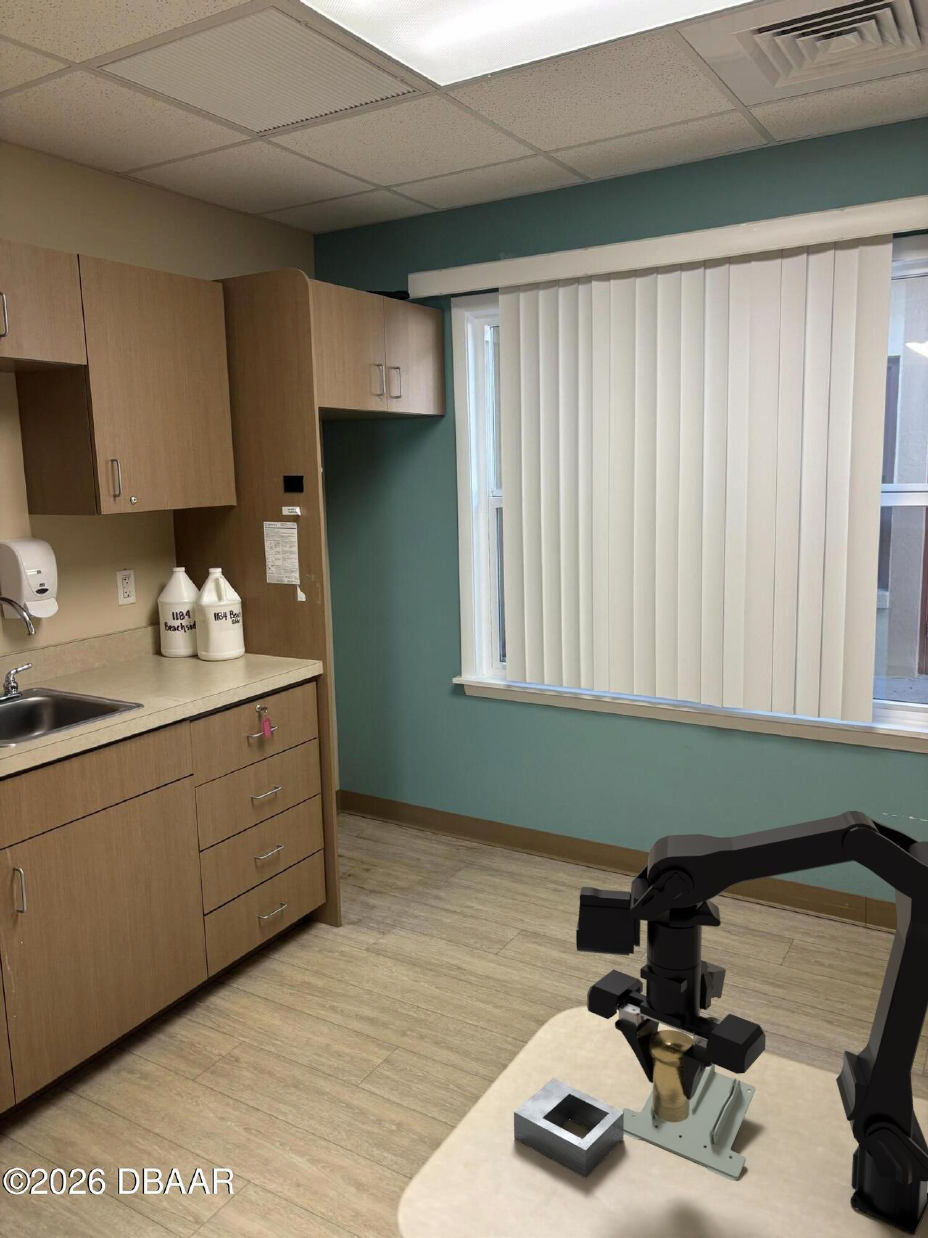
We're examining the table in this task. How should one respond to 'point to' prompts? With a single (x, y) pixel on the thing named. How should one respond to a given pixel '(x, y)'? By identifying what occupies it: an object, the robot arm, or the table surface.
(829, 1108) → the table surface
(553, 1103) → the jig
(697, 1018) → the robot arm
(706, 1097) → the metal bracket
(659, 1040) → the knob
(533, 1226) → the table surface
